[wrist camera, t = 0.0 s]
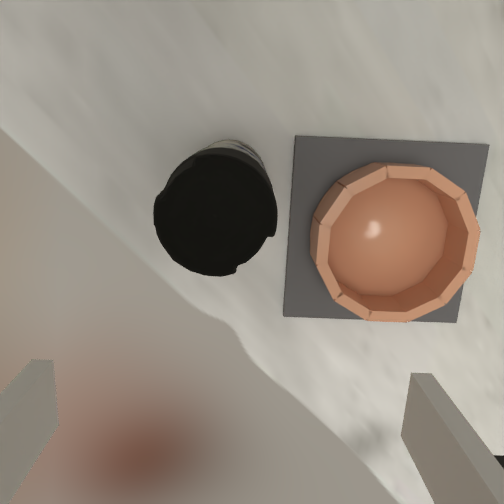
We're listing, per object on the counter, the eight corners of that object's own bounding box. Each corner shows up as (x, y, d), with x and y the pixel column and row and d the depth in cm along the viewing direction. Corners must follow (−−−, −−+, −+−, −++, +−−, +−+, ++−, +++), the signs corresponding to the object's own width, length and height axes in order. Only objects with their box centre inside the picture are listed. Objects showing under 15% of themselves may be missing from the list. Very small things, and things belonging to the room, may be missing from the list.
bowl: (315, 159, 41) (324, 162, 36) (464, 165, 41) (492, 170, 36) (304, 299, 44) (311, 318, 40) (440, 304, 45) (462, 324, 40)
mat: (295, 135, 41) (296, 135, 40) (486, 144, 41) (489, 144, 41) (283, 314, 46) (283, 316, 45) (453, 320, 46) (456, 322, 45)
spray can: (279, 176, 42) (308, 216, 22) (229, 225, 43) (215, 303, 24) (230, 124, 40) (215, 119, 21) (179, 176, 42) (122, 216, 22)
